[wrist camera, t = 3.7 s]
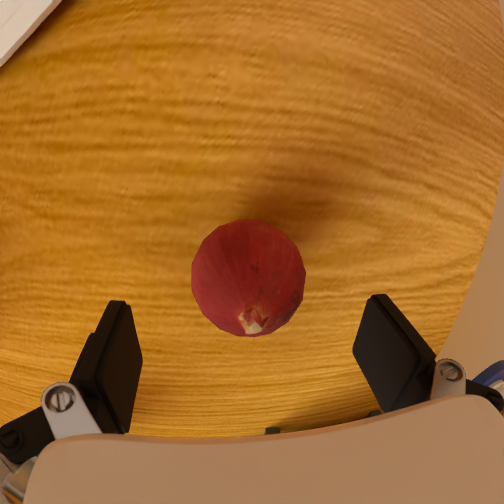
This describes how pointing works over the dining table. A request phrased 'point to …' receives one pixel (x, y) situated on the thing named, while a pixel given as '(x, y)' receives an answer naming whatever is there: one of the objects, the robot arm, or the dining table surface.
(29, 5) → the plate
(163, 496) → the robot arm
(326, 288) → the dining table surface
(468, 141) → the dining table surface
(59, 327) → the dining table surface
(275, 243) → the onion
